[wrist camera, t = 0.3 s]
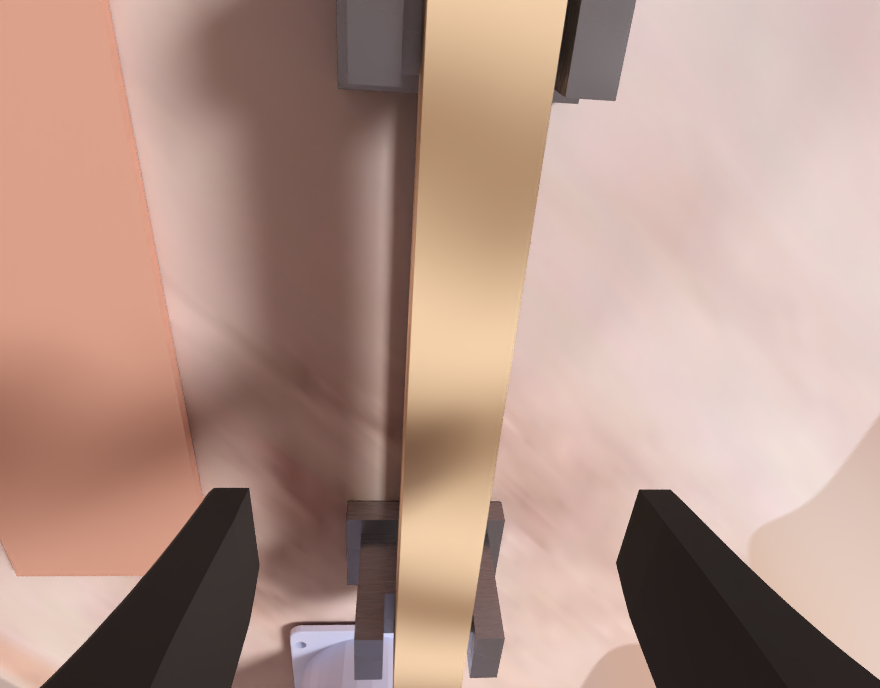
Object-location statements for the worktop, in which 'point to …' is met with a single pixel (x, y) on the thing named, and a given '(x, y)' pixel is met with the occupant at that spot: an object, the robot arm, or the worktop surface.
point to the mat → (81, 312)
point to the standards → (397, 70)
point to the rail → (464, 303)
